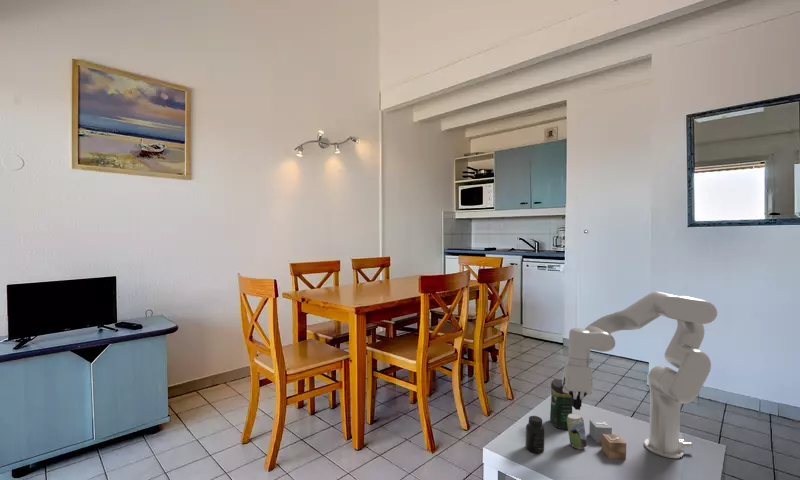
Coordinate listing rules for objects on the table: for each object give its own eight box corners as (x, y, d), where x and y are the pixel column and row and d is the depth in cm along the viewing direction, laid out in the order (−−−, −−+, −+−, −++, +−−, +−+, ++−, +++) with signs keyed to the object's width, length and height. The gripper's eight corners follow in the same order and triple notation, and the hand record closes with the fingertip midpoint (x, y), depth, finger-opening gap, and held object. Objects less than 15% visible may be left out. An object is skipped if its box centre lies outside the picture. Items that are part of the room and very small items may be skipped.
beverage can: (588, 451, 145) (589, 420, 145) (568, 449, 147) (568, 418, 147) (584, 443, 152) (585, 412, 151) (564, 440, 153) (565, 410, 153)
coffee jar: (575, 430, 161) (576, 386, 161) (556, 430, 161) (557, 386, 161) (565, 419, 171) (566, 377, 171) (547, 418, 171) (548, 377, 171)
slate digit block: (604, 435, 158) (604, 420, 158) (611, 442, 152) (611, 427, 152) (589, 434, 159) (589, 419, 158) (595, 442, 153) (596, 426, 152)
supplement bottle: (521, 445, 149) (522, 414, 149) (537, 443, 150) (538, 413, 150) (531, 455, 142) (532, 423, 142) (548, 453, 144) (548, 422, 143)
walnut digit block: (617, 450, 147) (618, 434, 147) (625, 459, 141) (626, 442, 141) (601, 449, 148) (602, 433, 147) (609, 458, 142) (609, 441, 141)
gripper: (594, 359, 152) (592, 405, 152) (555, 357, 153) (553, 402, 153) (603, 365, 144) (600, 414, 145) (562, 363, 145) (560, 411, 146)
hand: (576, 408), depth 149 cm, fingers closed
